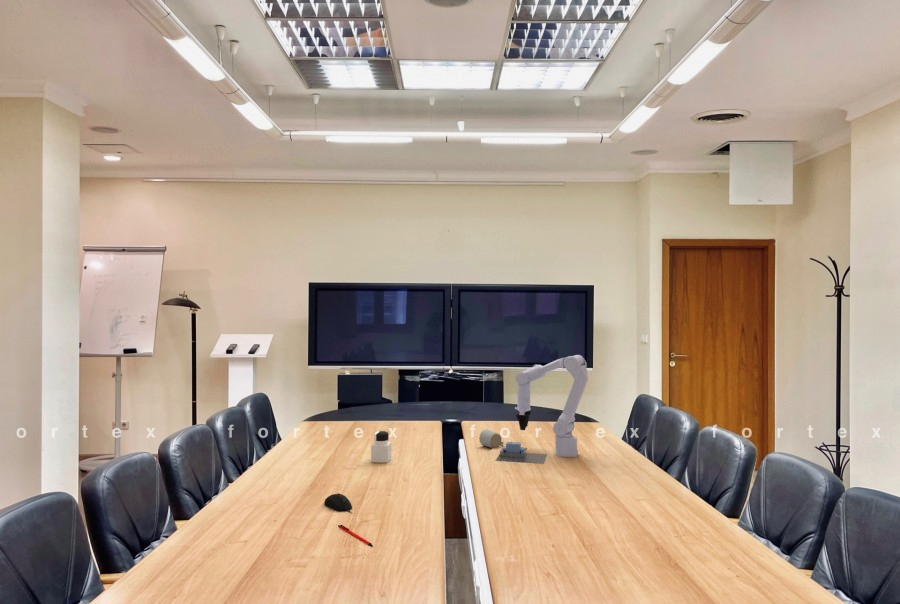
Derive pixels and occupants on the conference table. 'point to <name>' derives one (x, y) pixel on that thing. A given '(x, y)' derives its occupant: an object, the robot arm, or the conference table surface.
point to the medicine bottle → (381, 447)
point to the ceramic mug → (490, 439)
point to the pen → (355, 535)
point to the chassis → (521, 457)
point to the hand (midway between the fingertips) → (523, 428)
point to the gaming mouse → (338, 503)
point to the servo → (513, 447)
